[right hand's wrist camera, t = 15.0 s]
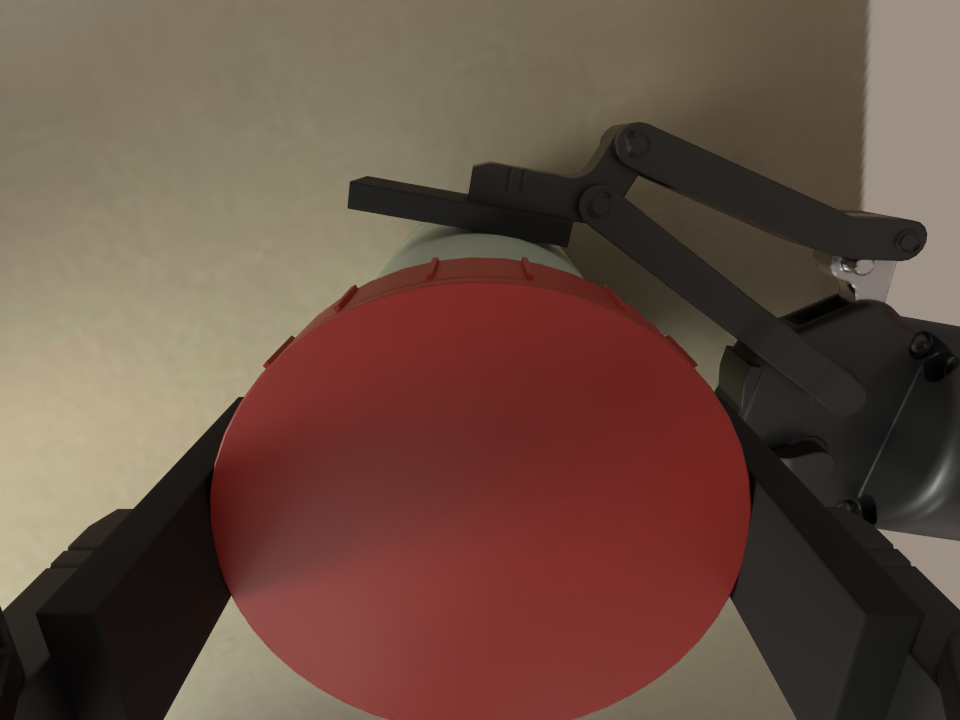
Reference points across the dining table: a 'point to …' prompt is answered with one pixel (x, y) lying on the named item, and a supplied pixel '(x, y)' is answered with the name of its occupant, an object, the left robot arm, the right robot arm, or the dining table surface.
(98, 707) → the right robot arm
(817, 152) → the dining table surface
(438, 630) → the lid
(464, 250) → the jar
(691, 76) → the dining table surface
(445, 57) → the dining table surface
